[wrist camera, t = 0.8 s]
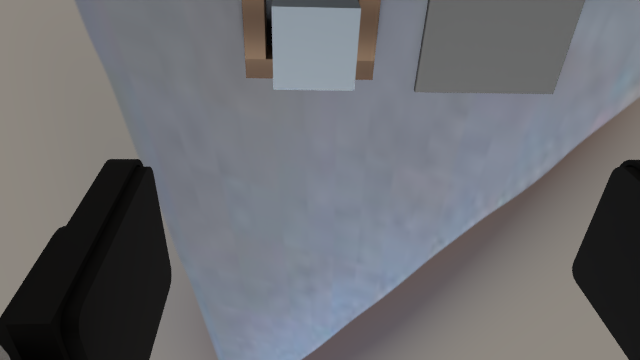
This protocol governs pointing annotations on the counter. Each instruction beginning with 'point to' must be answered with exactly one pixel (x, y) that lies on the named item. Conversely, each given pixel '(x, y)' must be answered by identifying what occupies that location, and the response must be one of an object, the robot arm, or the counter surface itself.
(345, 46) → the block
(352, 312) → the counter surface
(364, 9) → the pocket holder
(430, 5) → the mat
